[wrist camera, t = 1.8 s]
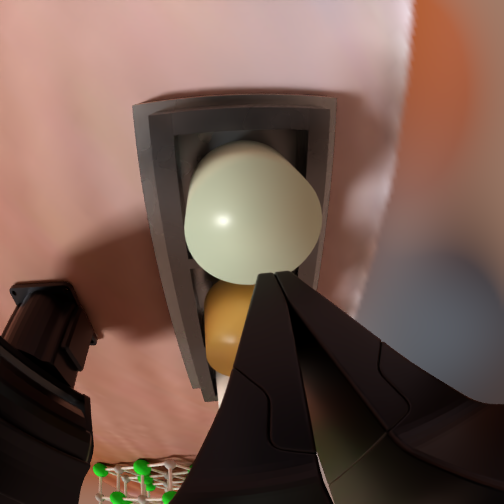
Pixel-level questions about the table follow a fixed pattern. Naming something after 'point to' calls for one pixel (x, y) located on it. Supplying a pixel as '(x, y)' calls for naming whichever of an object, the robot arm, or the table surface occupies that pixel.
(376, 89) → the table surface
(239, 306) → the amber button
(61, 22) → the table surface
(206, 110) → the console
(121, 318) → the table surface
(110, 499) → the molecular structure model
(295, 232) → the sage button
